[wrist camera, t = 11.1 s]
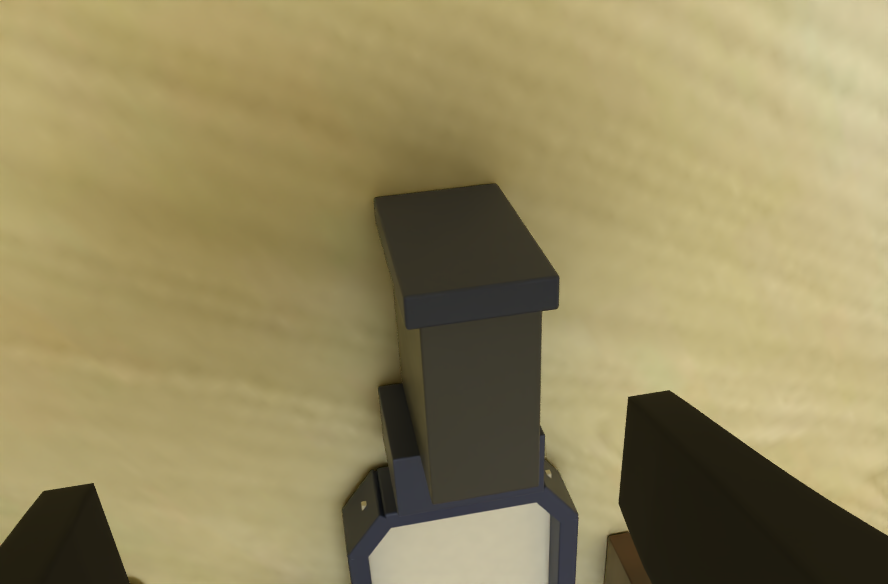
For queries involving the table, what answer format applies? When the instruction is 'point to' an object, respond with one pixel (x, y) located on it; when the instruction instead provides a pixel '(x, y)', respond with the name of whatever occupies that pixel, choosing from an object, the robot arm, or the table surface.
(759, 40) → the table surface
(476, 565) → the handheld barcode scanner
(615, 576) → the frame
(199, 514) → the table surface
